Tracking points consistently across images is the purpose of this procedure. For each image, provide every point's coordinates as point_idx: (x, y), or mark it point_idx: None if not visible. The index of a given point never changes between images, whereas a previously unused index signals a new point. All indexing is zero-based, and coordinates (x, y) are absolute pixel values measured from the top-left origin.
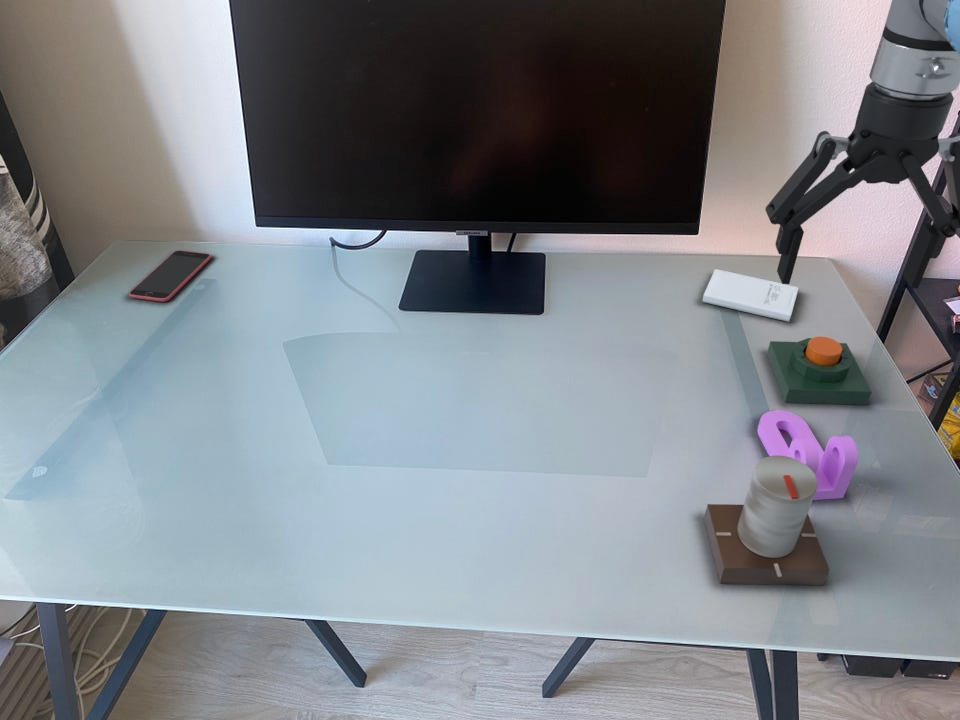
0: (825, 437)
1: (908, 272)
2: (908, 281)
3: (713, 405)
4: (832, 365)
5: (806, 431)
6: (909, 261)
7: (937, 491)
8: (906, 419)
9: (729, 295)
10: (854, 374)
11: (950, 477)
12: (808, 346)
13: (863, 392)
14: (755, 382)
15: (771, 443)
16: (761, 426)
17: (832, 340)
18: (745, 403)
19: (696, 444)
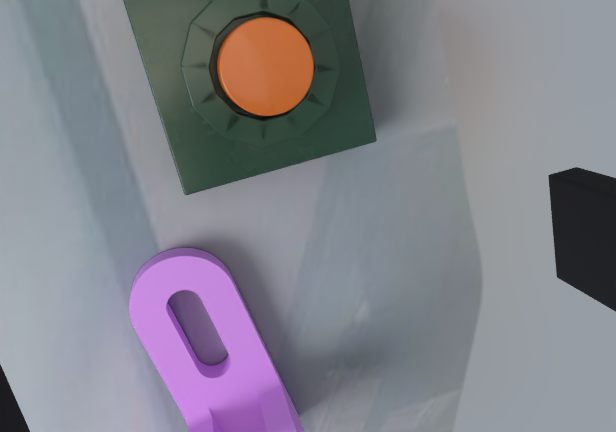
0: (273, 271)
1: (577, 225)
2: (560, 244)
3: (15, 251)
4: None
5: (231, 306)
6: (607, 214)
7: (453, 339)
8: (437, 158)
9: None
10: (343, 81)
11: (481, 298)
12: (220, 75)
13: (358, 145)
14: (106, 127)
15: (160, 368)
16: (134, 325)
17: (288, 32)
18: (92, 218)
19: None
